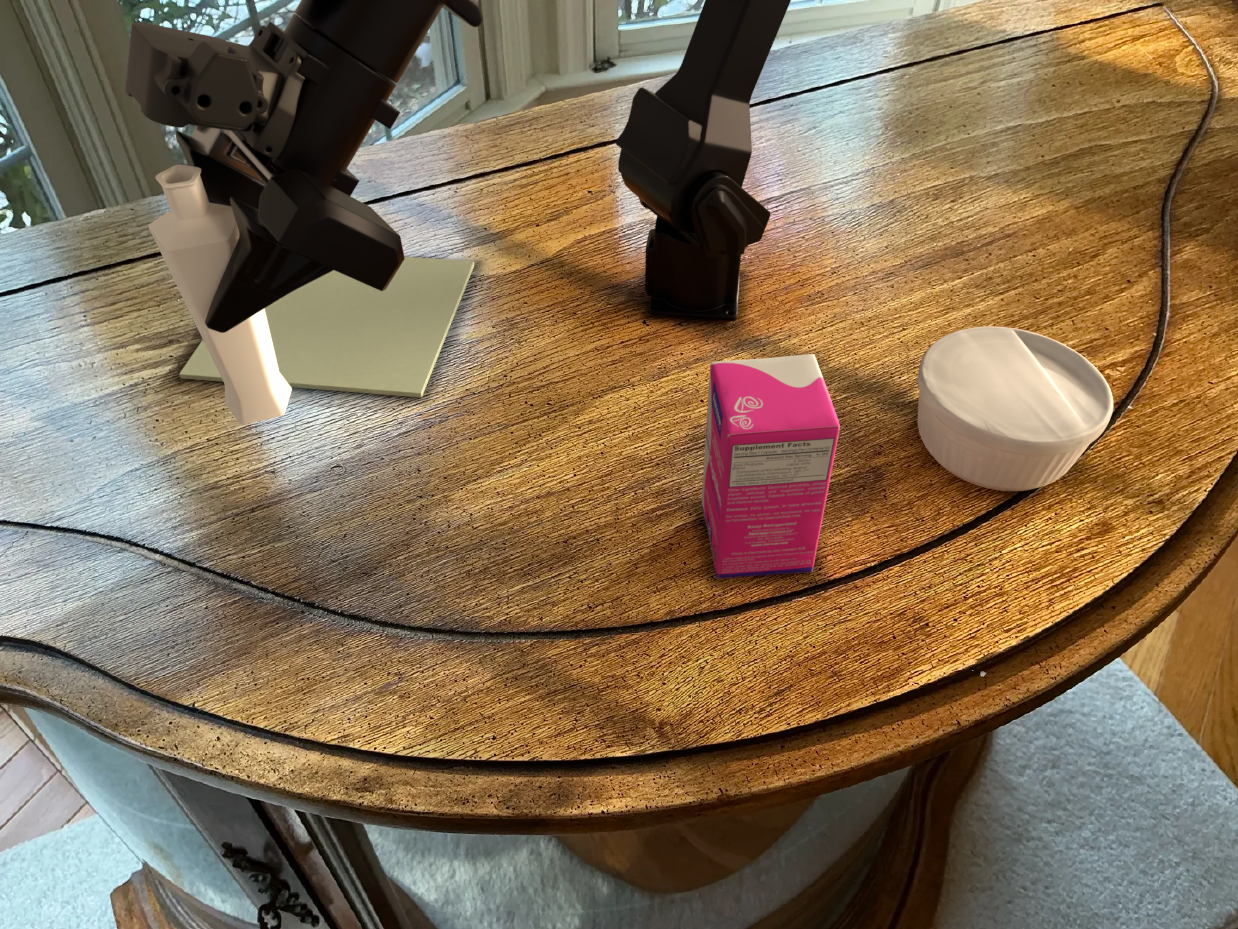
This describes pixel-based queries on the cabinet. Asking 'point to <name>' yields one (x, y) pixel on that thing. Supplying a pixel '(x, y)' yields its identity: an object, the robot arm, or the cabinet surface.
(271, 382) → the beige vase
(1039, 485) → the ramekin
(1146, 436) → the cabinet surface
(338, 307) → the mat
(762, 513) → the supplement box
